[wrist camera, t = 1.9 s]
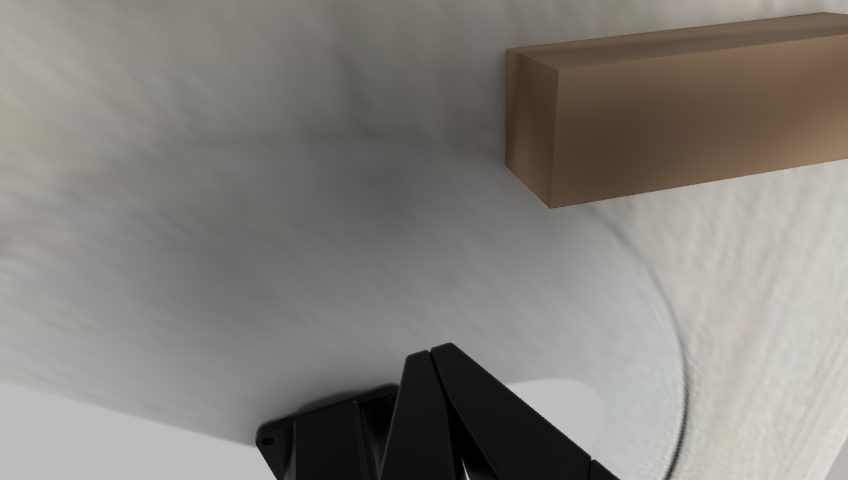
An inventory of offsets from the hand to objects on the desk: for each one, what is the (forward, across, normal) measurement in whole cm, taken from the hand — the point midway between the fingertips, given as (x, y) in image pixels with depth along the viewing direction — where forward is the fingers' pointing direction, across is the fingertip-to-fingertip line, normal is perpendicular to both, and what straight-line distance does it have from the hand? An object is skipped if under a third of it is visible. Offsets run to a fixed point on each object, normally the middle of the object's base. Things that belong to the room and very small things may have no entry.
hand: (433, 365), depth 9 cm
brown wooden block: (+10, -11, 0) cm, 15 cm away
